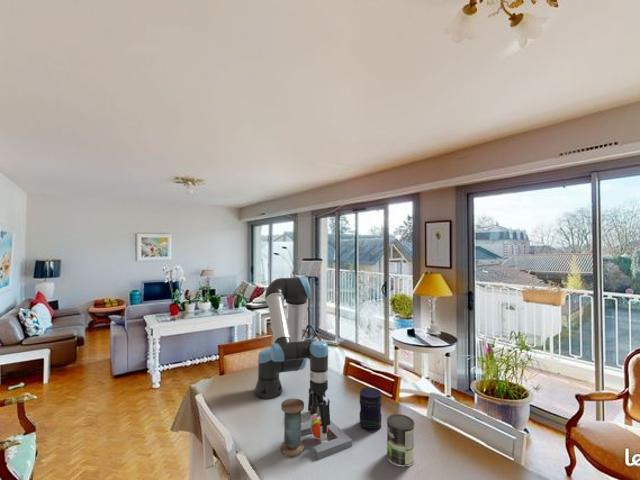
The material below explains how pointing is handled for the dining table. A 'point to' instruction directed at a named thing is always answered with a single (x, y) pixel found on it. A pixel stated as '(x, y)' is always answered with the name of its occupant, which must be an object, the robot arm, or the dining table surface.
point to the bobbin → (292, 427)
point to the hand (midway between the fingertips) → (318, 434)
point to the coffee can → (400, 440)
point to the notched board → (330, 447)
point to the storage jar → (370, 409)
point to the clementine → (316, 428)
